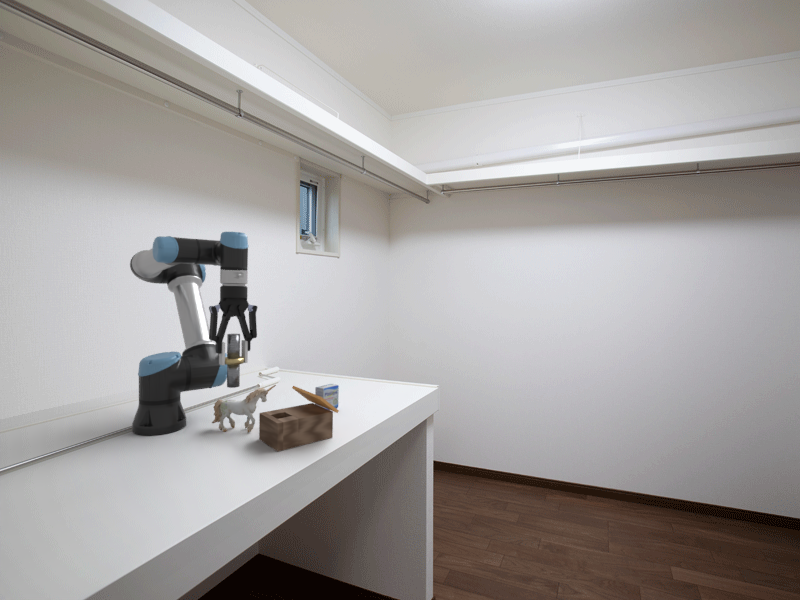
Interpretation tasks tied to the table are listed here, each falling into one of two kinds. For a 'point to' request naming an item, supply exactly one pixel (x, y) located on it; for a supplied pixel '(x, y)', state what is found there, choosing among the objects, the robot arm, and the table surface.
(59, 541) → the table surface
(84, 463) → the table surface
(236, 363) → the pin
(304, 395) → the latch flap
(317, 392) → the medicine box
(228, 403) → the unicorn figurine
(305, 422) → the block
